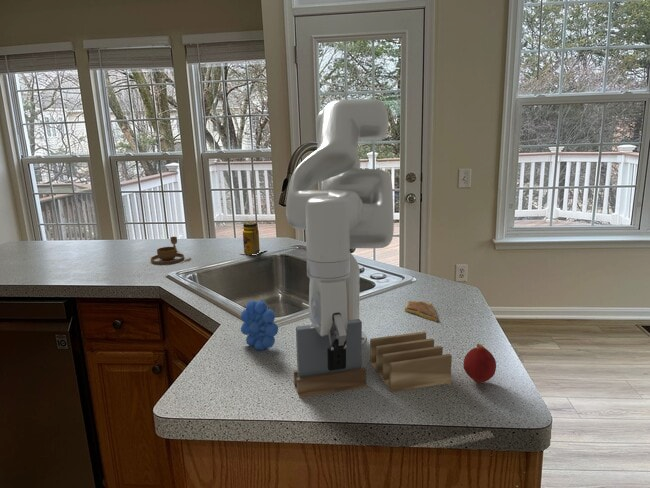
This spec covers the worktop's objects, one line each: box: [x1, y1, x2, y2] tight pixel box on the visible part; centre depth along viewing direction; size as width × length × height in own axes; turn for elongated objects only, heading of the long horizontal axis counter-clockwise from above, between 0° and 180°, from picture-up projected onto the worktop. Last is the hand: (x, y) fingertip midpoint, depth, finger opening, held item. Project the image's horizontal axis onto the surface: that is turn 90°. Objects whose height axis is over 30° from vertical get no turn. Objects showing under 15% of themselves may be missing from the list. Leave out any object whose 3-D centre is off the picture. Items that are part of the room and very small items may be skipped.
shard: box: [404, 300, 439, 322], centre depth 120 cm, size 11×8×2 cm
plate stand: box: [292, 367, 369, 399], centre depth 87 cm, size 6×13×4 cm, turn 105°
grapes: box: [240, 300, 279, 351], centre depth 101 cm, size 12×7×12 cm, turn 47°
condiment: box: [242, 221, 261, 256], centre depth 180 cm, size 7×8×12 cm
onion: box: [462, 343, 497, 384], centre depth 87 cm, size 6×6×8 cm
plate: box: [295, 318, 363, 378], centre depth 85 cm, size 1×12×12 cm, turn 105°
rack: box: [368, 331, 453, 393], centre depth 90 cm, size 12×12×6 cm
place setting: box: [150, 236, 192, 265], centre depth 176 cm, size 18×20×6 cm
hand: (329, 356), depth 85 cm, fingers open, 9 cm apart
